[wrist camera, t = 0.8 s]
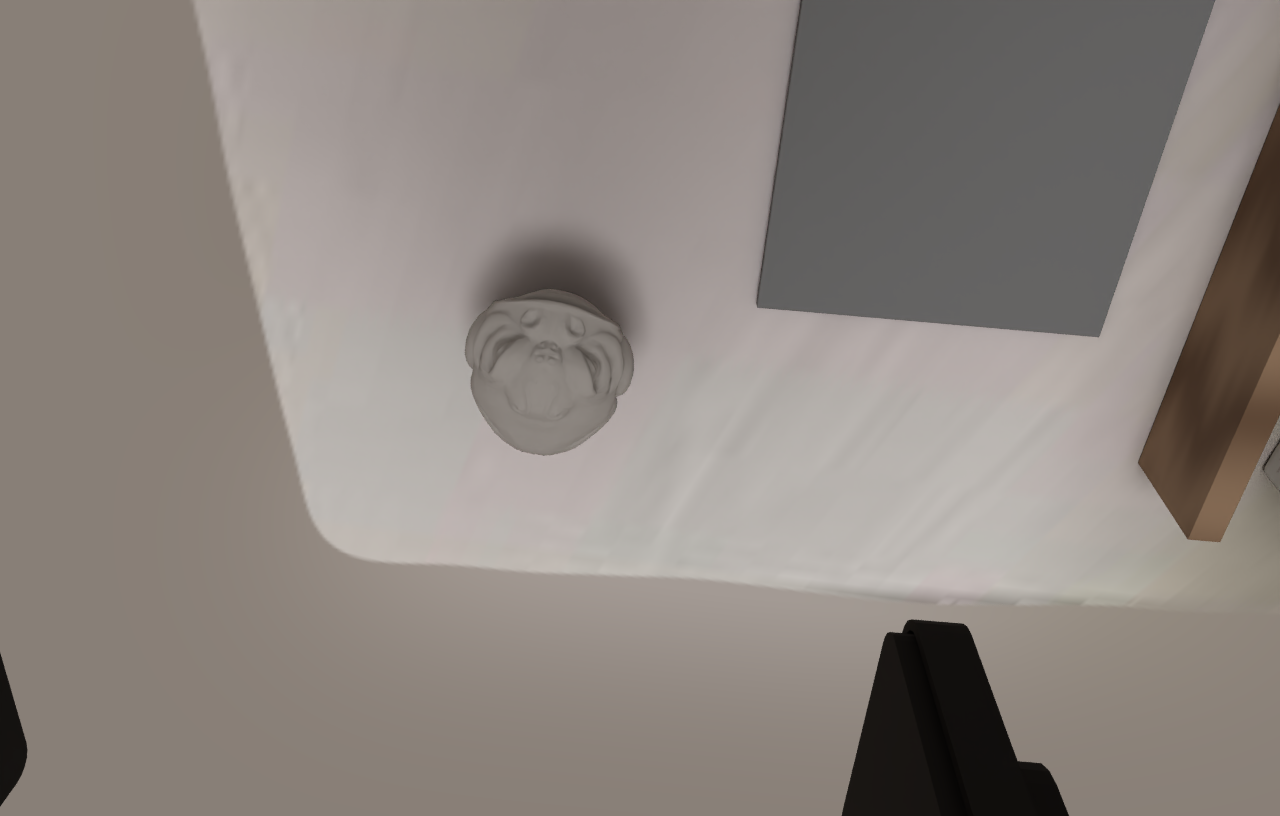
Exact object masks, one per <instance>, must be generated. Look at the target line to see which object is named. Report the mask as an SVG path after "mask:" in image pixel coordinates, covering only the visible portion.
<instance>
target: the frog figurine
mask: <svg viewBox="0 0 1280 816" xmlns="http://www.w3.org/2000/svg"><path fill="white" fill-rule="evenodd" d="M465 356H466V361H467V363H468V364H469V366H470V367H471V368H472V369H473V373H472V376H471V389H472V394H473V397H474V399H475V402H476V404H477V406H478V408H479V410H480V412H481V414H482V415H483V417H484V418H485V420H486V421H487V423H488V424H489V426H490V427H491V428H492V430H493V431H494V433H495V434H496V435H498V436H499V437H500V438H501V439H502V440H503V441H505V442H506V443H508V444H509V445H510V446H512V447H513V448H515V449H517V450H520V451H522V452H527V453H531V454H538V455H543V456H545V455H554V454H558V453H562V452H566V451H568V450H571V449H573V448H576V447H577V446H579V445H580V444H581V443H583V442H584V441H586V440H587V439H588V438H590V437H591V436H592V435H594V434H595V433H596V432H597V431H598V430H599V429H601V428H602V427H603V426H604V425H605V424H606V423H607V422H608V421H609V419H610V418H611V416H612V415H613V414H614V412H615V410H616V408H617V398H616V397H617V396H620V395H622V394H623V393H624V392H626V390H627V389H628V387H629V386H630V383H631V379H632V376H633V371H634V359H633V353H632V350H631V346H630V344H629V342H628V340H627V339H626V337H625V336H623V334H622V331H621V329H620V326H619V325H618V324H617V323H615V322H614V321H612V320H611V319H610V318H608V317H606V316H605V315H603V314H602V313H601V312H600V311H599V310H598V309H597V308H596V307H595V306H594V305H593V304H591V303H590V302H589V301H587V300H585V299H584V298H582V297H580V296H578V295H576V294H573V293H570V292H566V291H561V290H555V289H543V290H538V291H535V292H531V293H527V294H525V295H522V296H518V297H513V298H507V299H503V300H496V301H494V302H493V303H492V305H491V306H490V307H489V308H488V309H487V310H486V311H484V312H483V313H482V314H480V315H479V316H478V318H477V319H476V320H475V321H474V323H473V324H472V326H471V328H470V330H469V333H468V336H467V339H466V346H465Z"/></svg>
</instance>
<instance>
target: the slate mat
mask: <svg viewBox="0 0 1280 816" xmlns="http://www.w3.org/2000/svg"><path fill="white" fill-rule="evenodd" d="M1214 2H1215V0H801V5H800V12H799V19H798V25H797V32H796V39H795V46H794V52H793V59H792V66H791V73H790V80H789V86H788V93H787V100H786V107H785V113H784V120H783V127H782V134H781V141H780V147H779V154H778V161H777V168H776V174H775V181H774V188H773V195H772V202H771V208H770V215H769V222H768V229H767V235H766V242H765V249H764V256H763V263H762V269H761V276H760V283H759V290H758V297H757V308H769V309H780V310H792V311H803V312H815V313H826V314H838V315H849V316H861V317H872V318H884V319H895V320H907V321H918V322H930V323H941V324H953V325H964V326H976V327H987V328H999V329H1010V330H1022V331H1034V332H1045V333H1057V334H1068V335H1080V336H1091V337H1099V336H1100V333H1101V330H1102V327H1103V324H1104V321H1105V318H1106V316H1107V313H1108V310H1109V307H1110V304H1111V301H1112V298H1113V295H1114V292H1115V289H1116V287H1117V284H1118V281H1119V278H1120V275H1121V272H1122V269H1123V266H1124V263H1125V260H1126V258H1127V255H1128V252H1129V249H1130V246H1131V243H1132V240H1133V237H1134V234H1135V231H1136V229H1137V226H1138V223H1139V220H1140V217H1141V214H1142V211H1143V208H1144V205H1145V202H1146V200H1147V197H1148V194H1149V191H1150V188H1151V185H1152V182H1153V179H1154V176H1155V173H1156V171H1157V168H1158V165H1159V162H1160V159H1161V156H1162V153H1163V150H1164V147H1165V144H1166V142H1167V139H1168V136H1169V133H1170V130H1171V127H1172V124H1173V121H1174V118H1175V115H1176V113H1177V110H1178V107H1179V104H1180V101H1181V98H1182V95H1183V92H1184V89H1185V86H1186V84H1187V81H1188V78H1189V75H1190V72H1191V69H1192V66H1193V63H1194V60H1195V57H1196V55H1197V52H1198V49H1199V46H1200V43H1201V40H1202V37H1203V34H1204V31H1205V28H1206V25H1207V23H1208V20H1209V17H1210V14H1211V11H1212V8H1213V5H1214Z"/></svg>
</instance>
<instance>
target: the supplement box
mask: <svg viewBox="0 0 1280 816" xmlns="http://www.w3.org/2000/svg"><path fill="white" fill-rule="evenodd" d="M1264 472H1265V474H1266V475H1267V476H1268V478H1269V479H1270V480H1271V481H1272V482H1273V484H1274V485H1275V486H1276V487H1277V488H1278V490H1279V491H1280V443H1279V444H1278V446H1277V447H1276V449H1275V450H1274V452H1273V454H1272V455H1271V457H1270V459H1269V461H1268V462H1267V464H1266V466H1265V469H1264Z"/></svg>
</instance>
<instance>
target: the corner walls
mask: <svg viewBox="0 0 1280 816" xmlns="http://www.w3.org/2000/svg"><path fill="white" fill-rule="evenodd" d="M1279 415H1280V106H1279V108H1278V111H1277V113H1276V116H1275V118H1274V121H1273V123H1272V126H1271V128H1270V131H1269V133H1268V136H1267V138H1266V141H1265V143H1264V146H1263V149H1262V151H1261V154H1260V156H1259V159H1258V161H1257V164H1256V166H1255V169H1254V171H1253V174H1252V176H1251V179H1250V181H1249V184H1248V186H1247V189H1246V192H1245V194H1244V197H1243V199H1242V202H1241V204H1240V207H1239V209H1238V212H1237V214H1236V217H1235V219H1234V222H1233V224H1232V227H1231V230H1230V232H1229V235H1228V237H1227V240H1226V242H1225V245H1224V247H1223V250H1222V252H1221V255H1220V257H1219V260H1218V262H1217V265H1216V267H1215V270H1214V273H1213V275H1212V278H1211V280H1210V283H1209V285H1208V288H1207V290H1206V293H1205V295H1204V298H1203V300H1202V303H1201V305H1200V308H1199V310H1198V313H1197V316H1196V318H1195V321H1194V323H1193V326H1192V328H1191V331H1190V333H1189V336H1188V338H1187V341H1186V343H1185V346H1184V348H1183V351H1182V353H1181V356H1180V359H1179V361H1178V364H1177V366H1176V369H1175V371H1174V374H1173V376H1172V379H1171V381H1170V384H1169V386H1168V389H1167V391H1166V394H1165V396H1164V399H1163V402H1162V404H1161V407H1160V409H1159V412H1158V414H1157V417H1156V419H1155V422H1154V424H1153V427H1152V429H1151V432H1150V434H1149V437H1148V439H1147V442H1146V445H1145V447H1144V450H1143V452H1142V455H1141V457H1140V460H1139V462H1138V463H1139V465H1140V467H1141V468H1142V470H1143V471H1144V473H1145V474H1146V476H1147V477H1148V479H1149V480H1150V482H1151V483H1152V485H1153V487H1154V488H1155V490H1156V491H1157V493H1158V494H1159V496H1160V497H1161V499H1162V500H1163V502H1164V503H1165V505H1166V507H1167V508H1168V510H1169V511H1170V513H1171V514H1172V516H1173V517H1174V519H1175V520H1176V522H1177V523H1178V525H1179V527H1180V528H1181V530H1182V531H1183V533H1184V534H1185V536H1186V537H1187V539H1189V540H1201V541H1212V542H1221V539H1222V537H1223V535H1224V533H1225V531H1226V529H1227V527H1228V524H1229V522H1230V520H1231V518H1232V516H1233V514H1234V512H1235V509H1236V507H1237V505H1238V503H1239V501H1240V499H1241V497H1242V495H1243V492H1244V490H1245V488H1246V486H1247V484H1248V482H1249V480H1250V477H1251V475H1252V473H1253V471H1254V469H1255V467H1256V465H1257V462H1258V460H1259V458H1260V456H1261V454H1262V452H1263V450H1264V448H1265V445H1266V443H1267V441H1268V439H1269V437H1270V435H1271V433H1272V430H1273V428H1274V426H1275V424H1276V422H1277V420H1278V418H1279Z"/></svg>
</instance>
